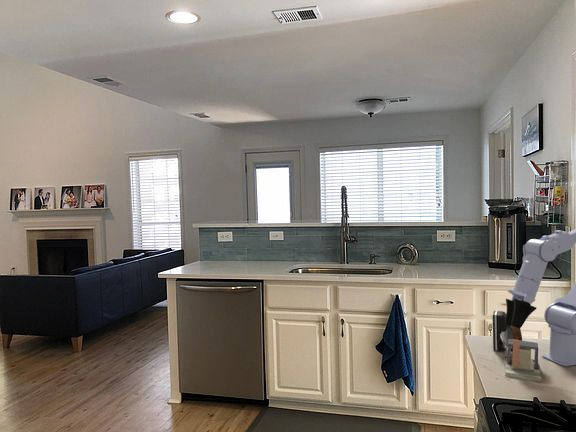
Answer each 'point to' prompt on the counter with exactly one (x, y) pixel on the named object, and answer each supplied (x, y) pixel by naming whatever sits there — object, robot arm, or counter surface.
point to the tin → (511, 335)
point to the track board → (522, 372)
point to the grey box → (525, 345)
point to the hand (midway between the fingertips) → (512, 326)
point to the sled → (521, 358)
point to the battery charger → (498, 330)
